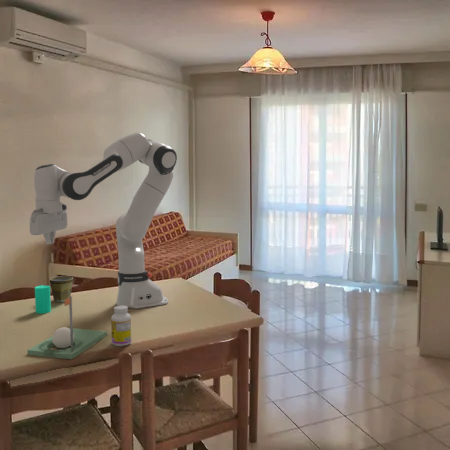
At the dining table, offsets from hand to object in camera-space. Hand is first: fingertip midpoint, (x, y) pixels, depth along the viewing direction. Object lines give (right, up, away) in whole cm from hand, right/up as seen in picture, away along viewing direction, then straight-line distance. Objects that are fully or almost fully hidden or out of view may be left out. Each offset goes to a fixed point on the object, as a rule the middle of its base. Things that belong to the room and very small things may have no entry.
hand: (50, 243), depth 208 cm
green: (+13, -34, -22) cm, 42 cm away
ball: (+13, -31, -25) cm, 42 cm away
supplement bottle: (+31, -34, -21) cm, 50 cm away
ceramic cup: (-7, -27, +36) cm, 46 cm away
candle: (-9, -29, +18) cm, 35 cm away
